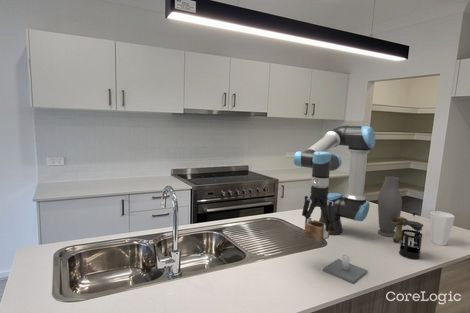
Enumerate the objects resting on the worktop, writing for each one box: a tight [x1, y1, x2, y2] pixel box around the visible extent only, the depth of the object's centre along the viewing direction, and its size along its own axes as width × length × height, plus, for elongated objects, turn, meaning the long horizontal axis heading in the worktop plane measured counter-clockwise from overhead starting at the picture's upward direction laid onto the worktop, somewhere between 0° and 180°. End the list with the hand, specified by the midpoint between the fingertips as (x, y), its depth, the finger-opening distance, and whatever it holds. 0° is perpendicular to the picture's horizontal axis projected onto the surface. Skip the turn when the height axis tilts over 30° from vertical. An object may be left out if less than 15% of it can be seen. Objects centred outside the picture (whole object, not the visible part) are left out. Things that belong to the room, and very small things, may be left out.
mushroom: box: [391, 216, 409, 243], centre depth 163 cm, size 9×9×15 cm
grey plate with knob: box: [322, 254, 368, 285], centre depth 130 cm, size 14×14×7 cm
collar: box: [303, 219, 330, 243], centre depth 133 cm, size 8×8×6 cm
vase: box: [377, 175, 403, 238], centre depth 174 cm, size 13×13×35 cm
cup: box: [429, 210, 456, 247], centre depth 164 cm, size 11×10×17 cm
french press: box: [398, 210, 424, 260], centre depth 147 cm, size 12×9×23 cm
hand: (316, 234), depth 133 cm, fingers closed on collar, 8 cm apart
